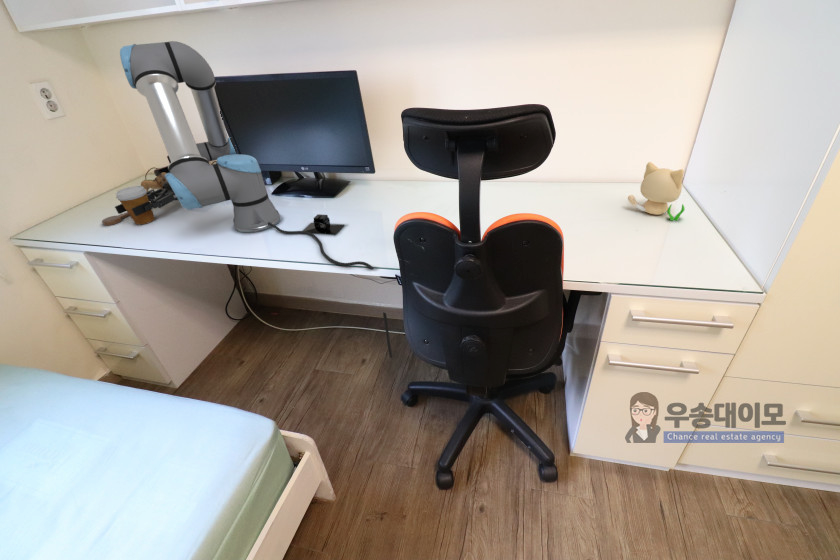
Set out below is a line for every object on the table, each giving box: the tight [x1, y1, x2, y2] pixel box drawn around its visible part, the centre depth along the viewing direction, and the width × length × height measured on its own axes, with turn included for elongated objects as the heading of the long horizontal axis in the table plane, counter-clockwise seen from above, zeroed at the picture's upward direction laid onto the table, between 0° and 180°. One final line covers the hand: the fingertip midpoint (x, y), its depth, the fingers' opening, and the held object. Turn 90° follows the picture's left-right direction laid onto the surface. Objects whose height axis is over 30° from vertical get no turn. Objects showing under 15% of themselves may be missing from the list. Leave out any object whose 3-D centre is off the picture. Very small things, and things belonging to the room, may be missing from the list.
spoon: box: [101, 202, 151, 227], centre depth 153 cm, size 6×24×2 cm, turn 159°
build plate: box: [302, 214, 346, 236], centre depth 128 cm, size 12×7×5 cm, turn 75°
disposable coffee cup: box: [115, 185, 156, 225], centre depth 142 cm, size 10×10×12 cm
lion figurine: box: [140, 172, 168, 192], centre depth 167 cm, size 15×5×9 cm, turn 104°
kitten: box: [627, 161, 686, 222], centre depth 117 cm, size 15×10×15 cm
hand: (125, 211), depth 139 cm, fingers closed on disposable coffee cup, 8 cm apart
